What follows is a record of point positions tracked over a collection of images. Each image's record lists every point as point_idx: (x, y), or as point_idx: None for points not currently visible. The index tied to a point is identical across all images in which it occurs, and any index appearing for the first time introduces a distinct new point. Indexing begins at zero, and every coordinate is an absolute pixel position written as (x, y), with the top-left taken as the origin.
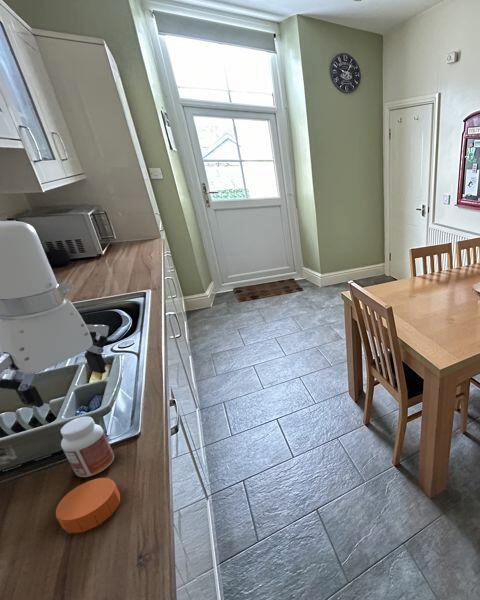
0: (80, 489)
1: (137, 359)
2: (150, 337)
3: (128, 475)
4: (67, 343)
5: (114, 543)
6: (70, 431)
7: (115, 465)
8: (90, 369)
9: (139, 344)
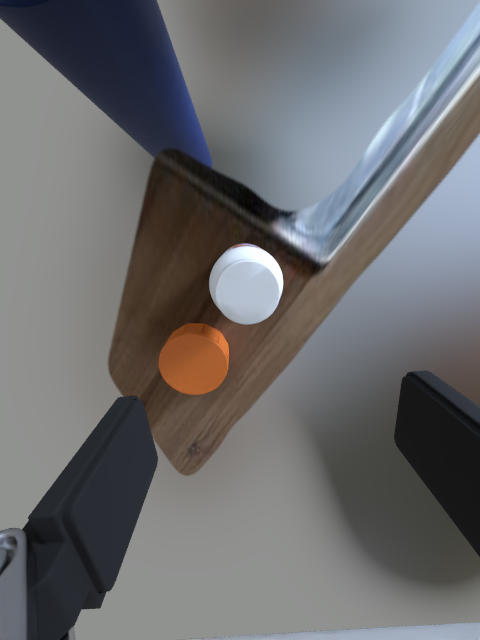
0: (196, 343)
1: None
2: None
3: (253, 338)
4: None
5: (188, 412)
6: (228, 304)
7: None
8: (408, 381)
9: None
